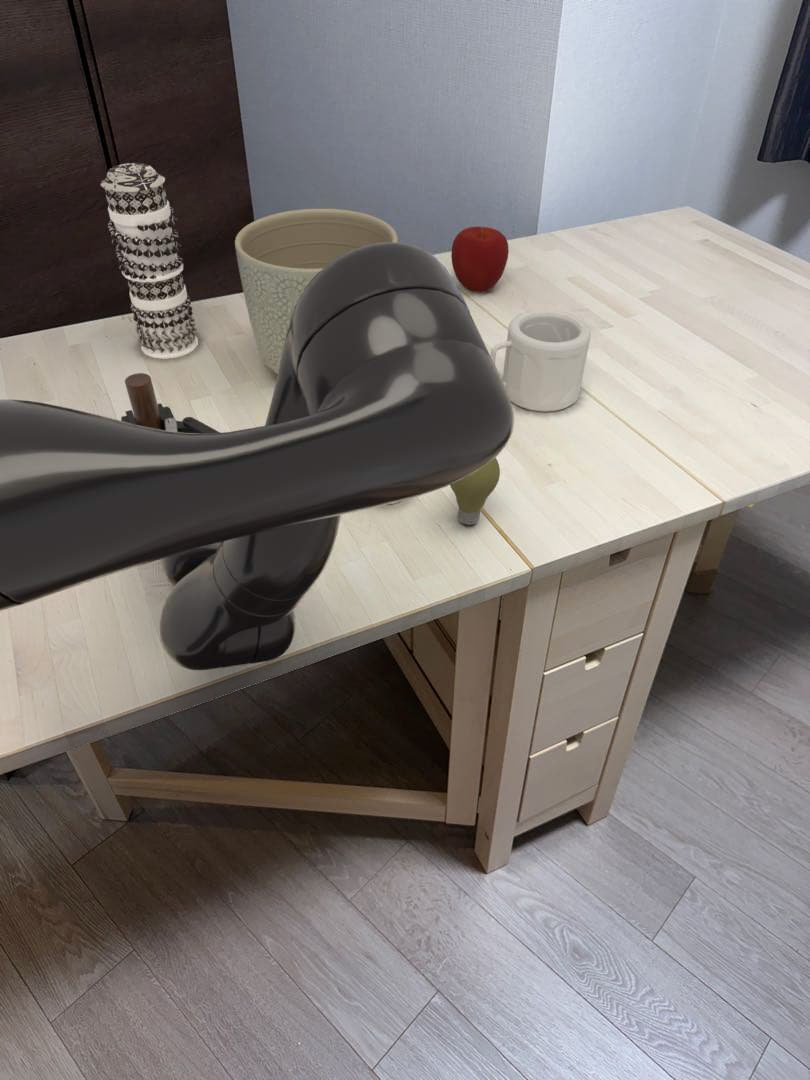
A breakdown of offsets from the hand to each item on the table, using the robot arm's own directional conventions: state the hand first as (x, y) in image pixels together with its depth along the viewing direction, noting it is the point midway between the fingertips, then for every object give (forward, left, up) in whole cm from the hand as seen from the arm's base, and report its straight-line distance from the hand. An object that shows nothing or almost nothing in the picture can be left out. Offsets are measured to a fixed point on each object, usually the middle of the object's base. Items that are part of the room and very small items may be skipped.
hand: (145, 414), depth 83 cm
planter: (+30, +10, -9) cm, 33 cm away
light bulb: (+24, -28, -9) cm, 38 cm away
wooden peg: (-1, -3, -8) cm, 9 cm away
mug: (+49, -13, -9) cm, 52 cm away
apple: (+66, +17, -9) cm, 69 cm away
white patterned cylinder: (+15, +30, -9) cm, 35 cm away
